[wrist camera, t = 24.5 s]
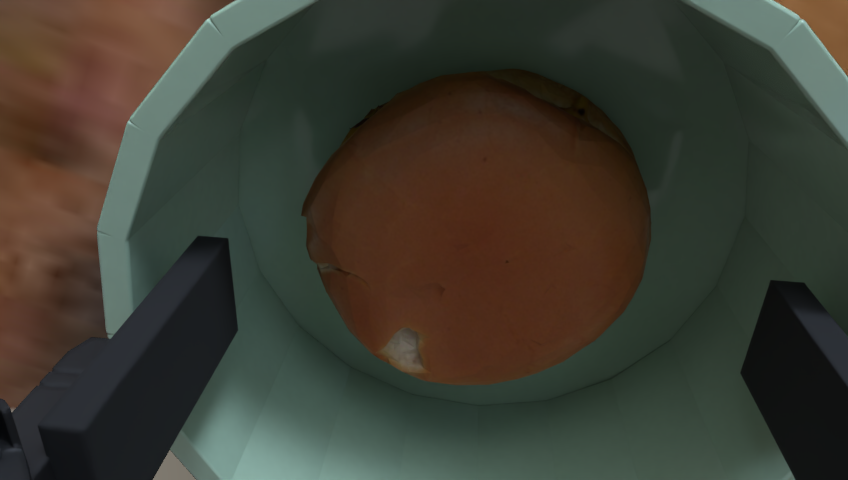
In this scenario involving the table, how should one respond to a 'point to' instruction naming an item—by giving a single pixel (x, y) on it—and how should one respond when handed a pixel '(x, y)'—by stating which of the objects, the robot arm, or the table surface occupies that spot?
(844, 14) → the table surface
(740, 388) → the pot
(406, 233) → the burger
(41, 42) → the table surface
